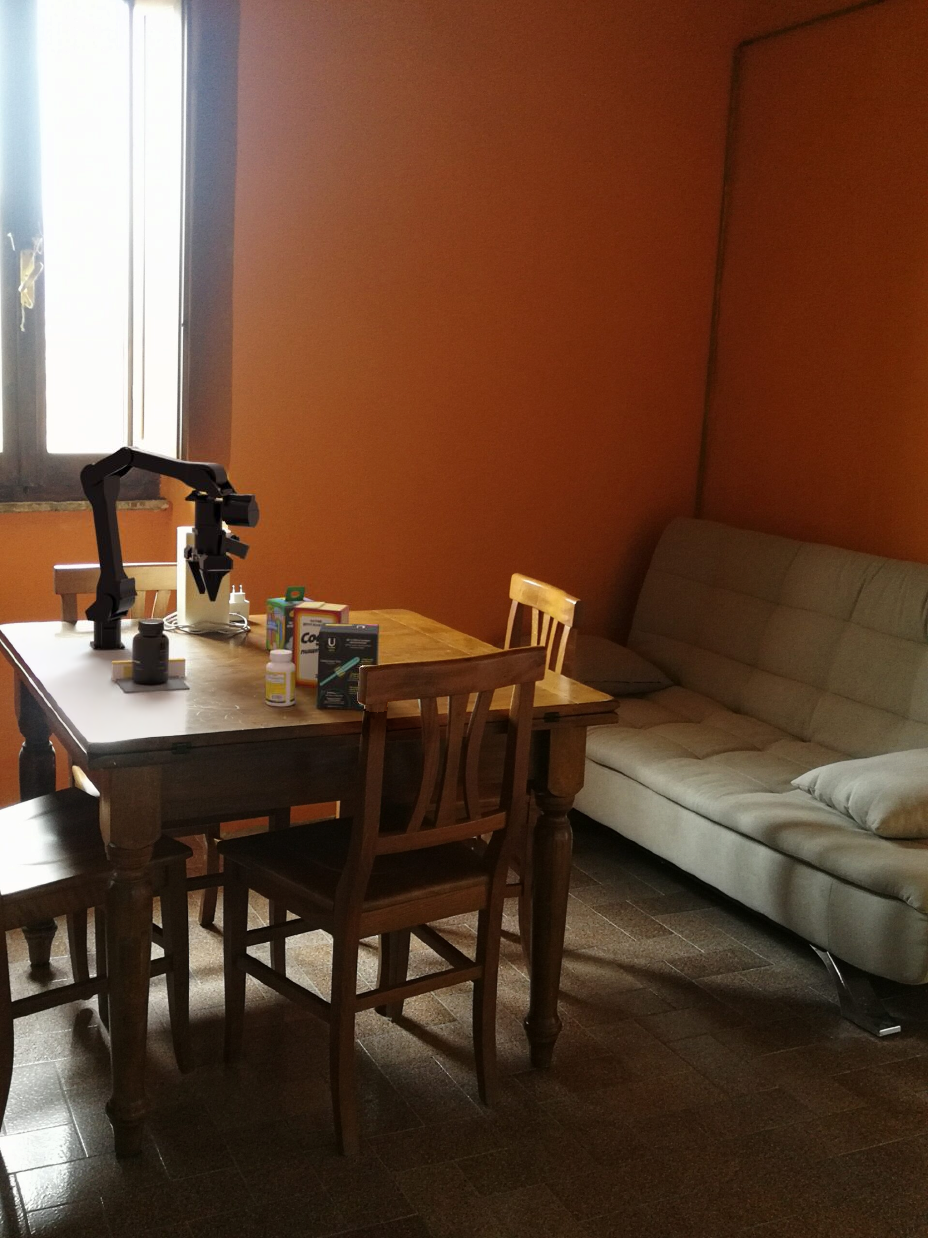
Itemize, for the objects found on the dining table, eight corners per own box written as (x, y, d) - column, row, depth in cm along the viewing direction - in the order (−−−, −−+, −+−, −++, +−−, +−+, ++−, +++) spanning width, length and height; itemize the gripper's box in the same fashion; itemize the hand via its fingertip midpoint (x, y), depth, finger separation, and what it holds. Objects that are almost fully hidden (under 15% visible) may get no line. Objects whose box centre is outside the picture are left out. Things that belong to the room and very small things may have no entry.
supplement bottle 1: (125, 684, 225) (125, 622, 222) (142, 676, 231) (142, 616, 229) (159, 687, 223) (159, 625, 221) (174, 679, 230) (175, 619, 228)
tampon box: (377, 698, 226) (380, 623, 223) (375, 711, 217) (379, 633, 214) (319, 696, 225) (321, 620, 222) (315, 709, 216) (318, 630, 213)
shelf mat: (115, 680, 228) (115, 678, 228) (178, 677, 233) (178, 675, 233) (125, 693, 219) (125, 691, 219) (189, 689, 225) (189, 687, 225)
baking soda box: (346, 682, 237) (349, 603, 235) (338, 689, 231) (341, 609, 228) (300, 678, 239) (302, 600, 236) (291, 685, 232) (293, 605, 229)
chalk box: (300, 645, 269) (302, 581, 267) (320, 653, 262) (322, 587, 260) (264, 648, 264) (265, 583, 261) (283, 657, 257) (285, 589, 254)
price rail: (111, 678, 230) (111, 660, 229) (183, 674, 236) (183, 657, 235) (112, 680, 228) (112, 662, 227) (185, 676, 234) (185, 659, 234)
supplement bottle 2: (286, 698, 222) (287, 647, 220) (300, 705, 218) (301, 653, 216) (260, 701, 219) (261, 649, 217) (273, 708, 214) (275, 655, 213)
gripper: (258, 529, 242) (256, 604, 245) (234, 519, 258) (233, 589, 261) (204, 529, 237) (203, 605, 240) (183, 518, 253) (182, 590, 256)
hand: (207, 597), depth 249 cm, fingers open, 9 cm apart
